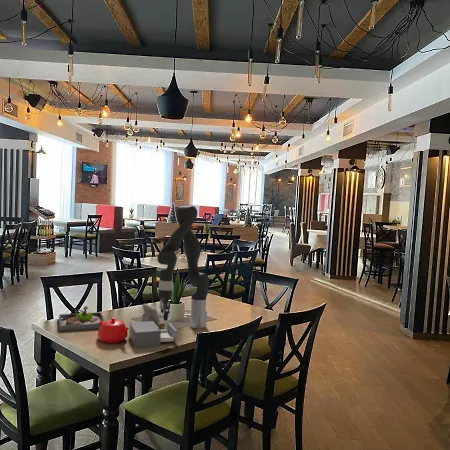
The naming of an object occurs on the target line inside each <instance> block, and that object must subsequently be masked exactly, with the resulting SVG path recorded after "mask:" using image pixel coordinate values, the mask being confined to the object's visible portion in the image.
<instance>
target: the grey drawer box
mask: <svg viewBox="0 0 450 450" xmlns="http://www.w3.org/2000/svg"><path fill="white" fill-rule="evenodd" d="M177 338H178V330H177V329H176V327H174V326H173V324H172V323H171V322H168V323H167V328H165V330H161V338H160V343H165V342H166V343H167V342H177V341H178V339H177Z"/></svg>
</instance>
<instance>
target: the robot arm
mask: <svg viewBox="0 0 450 450" xmlns="http://www.w3.org/2000/svg"><path fill="white" fill-rule="evenodd" d="M197 218H198V209H197V207H196V206H193V205H180V206H178V207H177V209H176V219H177V222H178V225H179V227H177V228H176V229H175V230H174V231H172V233H171V235H169V238H168V240H167V243H165V245H163V247H162V248H161V250H160V251H159V252H158V254H157V260H156V261H157V262H158V263H159V264H160V265H166V266H167V267H166V268H162V269H160V271H159V282H158V291H157V292H158V295H157V296H158V298H159V309H160V311H164V318H163V322H165V321H168V319H169V318H168V314H169V313H170V314H171V312H170V311H171V302H170V300H169V299H171V298H173V286H174V284H173V281H174V280H173V278H174V271H175V266H176V265H177V260H178V256H177V254H176V253H175V252H178V250H179V249H180V247H181V244H182V242H183V248H184V252H185V256H186V263H187V268H188V279H189V280H188V281H189V283H190V285H191V286H192V287H195V288H196V291H195V292H193V293H191V296H190V297H191V299H190V300H191V301H190V316H189V317H190V318H189V327H190V328H193V329H204V328H207V316H208V311H207V297H208V294H209V285H210V278H209V274H207V273H205V272H200V270H199V259H200V257H201V252H202V251H201V245H200V241H199V239H198V237H197V236H196V234H195V233H194V232H193V230H192V229H191V227H192V226H193V224H194V223H195V221H196V220H197Z"/></svg>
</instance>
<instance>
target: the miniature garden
mask: <svg viewBox="0 0 450 450" xmlns="http://www.w3.org/2000/svg"><path fill="white" fill-rule="evenodd" d="M88 308H89V307H88V306H87V305H85V306H84V307H83V310H84V311H83V310H82V309H75V311H74V312H75V313H78V312H79V315H80V316H79V315H76V317H71V318H68V319H66V323H65V324H66V325H82V324H99V322H100V321H101V319H100V318H99V317H98V316H93V315H90V314H91V313H92V312H91V311H89V312H87V310H89V309H88ZM66 325H65V326H66Z"/></svg>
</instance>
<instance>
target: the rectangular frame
mask: <svg viewBox="0 0 450 450" xmlns="http://www.w3.org/2000/svg"><path fill="white" fill-rule="evenodd" d="M79 313H80V312H79ZM79 313H78V312H77V313H66V314H65V313H63V314H62V313H61V314H58V326H59V332H74V331H75V332H76V331H88V330H89V331H90V330H91V331H92V330H99V328H100V326H99V324H82V325H62V320H67V319H68V318H71V317H76V315H79ZM90 315H93V316H98V317H99V318H100V319H101V321H106V320H105V317H104V315H103V313H102V311H101V312H91V314H90ZM79 316H80V315H79ZM61 318H63V319H61Z"/></svg>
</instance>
